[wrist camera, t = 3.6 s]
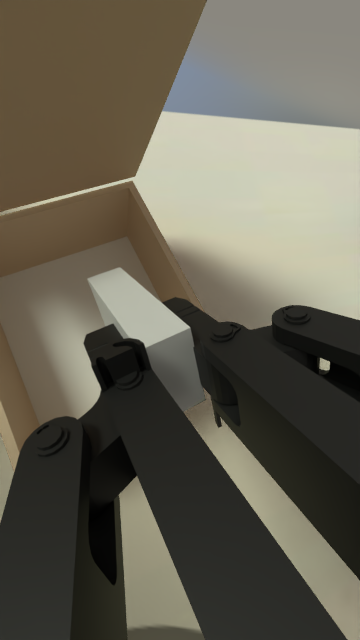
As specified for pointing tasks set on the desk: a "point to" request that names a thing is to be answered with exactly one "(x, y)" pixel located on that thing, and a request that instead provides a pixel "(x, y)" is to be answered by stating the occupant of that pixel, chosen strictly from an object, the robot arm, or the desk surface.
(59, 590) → the robot arm
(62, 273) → the box
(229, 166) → the desk surface
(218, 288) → the desk surface
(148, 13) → the mailer lid
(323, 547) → the desk surface
